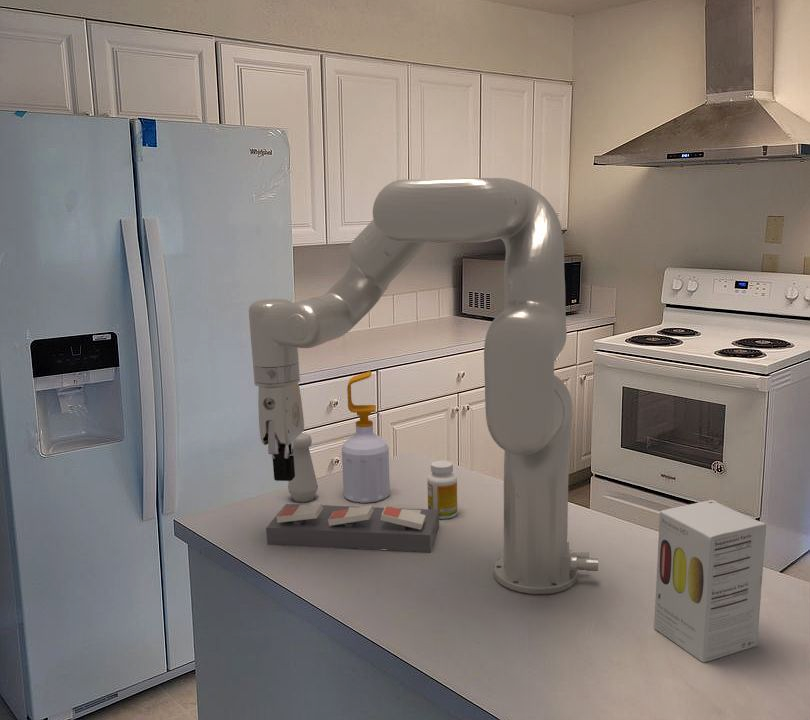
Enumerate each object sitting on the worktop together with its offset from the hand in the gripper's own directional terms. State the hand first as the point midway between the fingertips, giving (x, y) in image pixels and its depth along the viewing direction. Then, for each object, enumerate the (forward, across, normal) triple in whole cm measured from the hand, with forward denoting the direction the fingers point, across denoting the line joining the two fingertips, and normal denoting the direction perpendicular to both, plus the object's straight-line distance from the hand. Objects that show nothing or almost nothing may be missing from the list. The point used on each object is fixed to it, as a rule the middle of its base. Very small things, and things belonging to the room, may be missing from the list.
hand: (284, 479), depth 138 cm
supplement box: (+12, -25, -64) cm, 70 cm away
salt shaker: (+11, +18, +3) cm, 21 cm away
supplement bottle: (+11, +13, -25) cm, 31 cm away
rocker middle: (+6, 0, -11) cm, 13 cm away
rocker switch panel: (+11, +2, -11) cm, 16 cm away
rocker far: (+6, 0, -2) cm, 7 cm away
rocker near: (+7, 0, -20) cm, 21 cm away
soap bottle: (+11, +21, -9) cm, 26 cm away
